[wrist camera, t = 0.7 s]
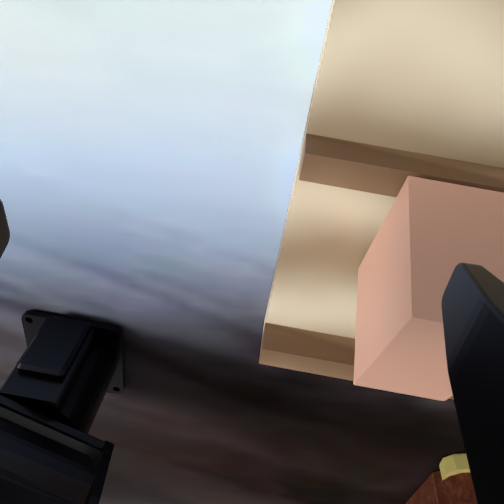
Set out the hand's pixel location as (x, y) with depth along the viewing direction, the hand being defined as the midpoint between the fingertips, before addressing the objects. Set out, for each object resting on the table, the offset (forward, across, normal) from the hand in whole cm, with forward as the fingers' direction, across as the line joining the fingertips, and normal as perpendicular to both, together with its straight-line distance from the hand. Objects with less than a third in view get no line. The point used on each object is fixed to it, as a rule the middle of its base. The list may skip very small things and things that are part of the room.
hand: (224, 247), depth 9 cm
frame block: (+11, -8, +6) cm, 14 cm away
